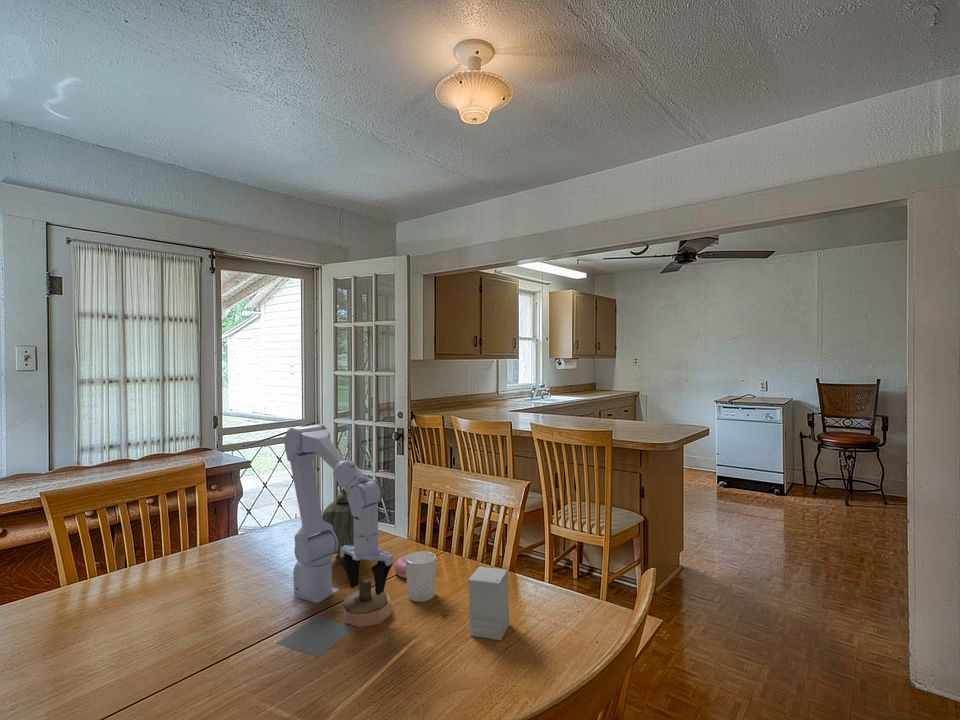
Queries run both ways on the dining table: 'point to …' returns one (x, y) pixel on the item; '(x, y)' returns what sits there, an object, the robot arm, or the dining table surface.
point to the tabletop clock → (340, 521)
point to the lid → (364, 599)
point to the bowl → (369, 616)
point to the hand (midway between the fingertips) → (367, 589)
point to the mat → (317, 636)
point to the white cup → (421, 575)
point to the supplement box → (489, 603)
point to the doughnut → (401, 567)
